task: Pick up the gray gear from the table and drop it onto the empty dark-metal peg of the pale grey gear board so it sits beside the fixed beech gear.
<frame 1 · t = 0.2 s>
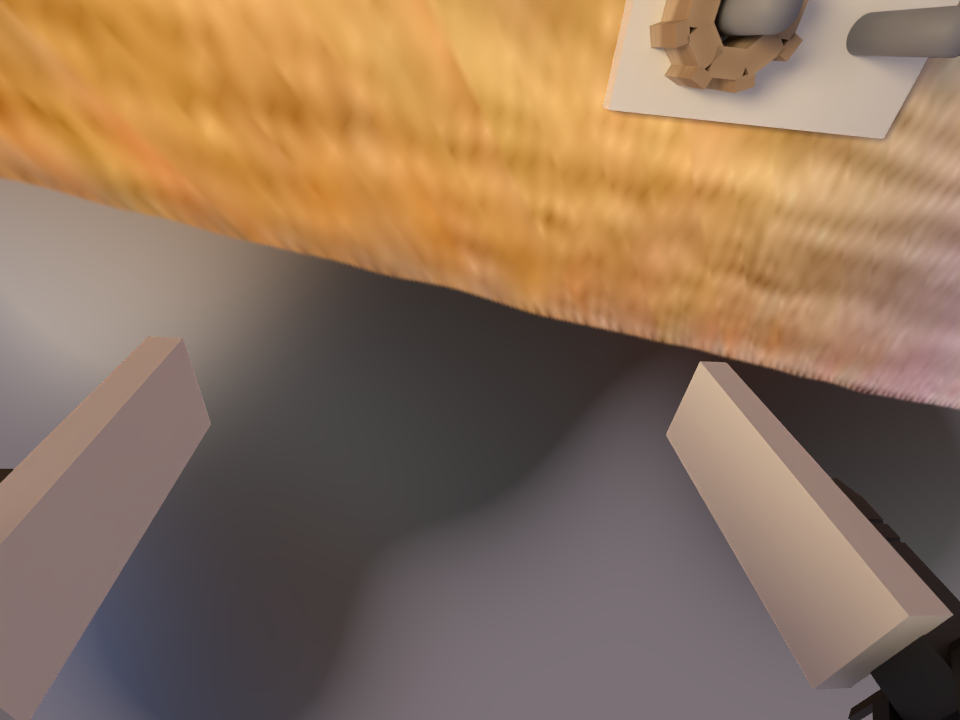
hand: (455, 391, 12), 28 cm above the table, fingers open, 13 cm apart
gear board: (777, 25, 31), on the table
beech gear: (713, 13, 29), resting on gear board
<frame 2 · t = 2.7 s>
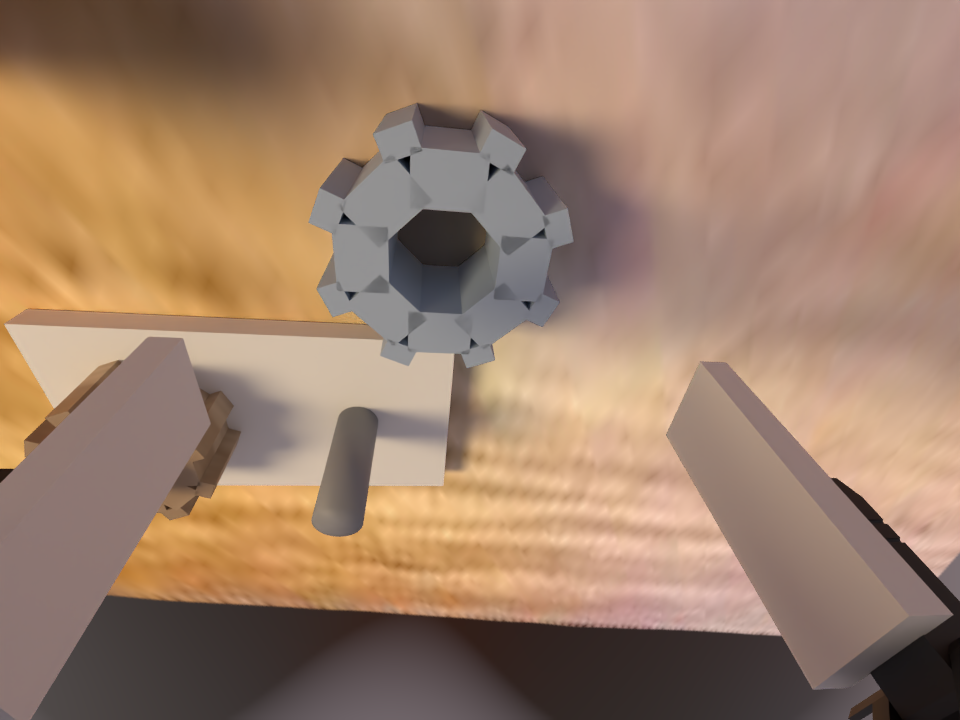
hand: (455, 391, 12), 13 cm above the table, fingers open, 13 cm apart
gray gear: (442, 224, 22), on the table
gear board: (270, 402, 28), on the table
beech gear: (163, 417, 26), resting on gear board
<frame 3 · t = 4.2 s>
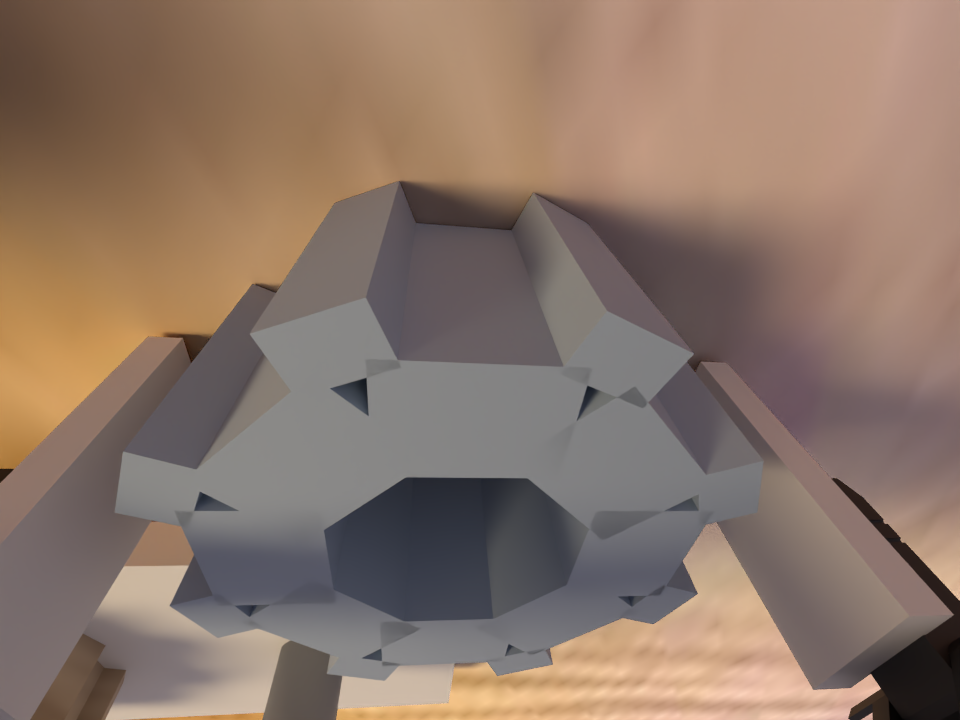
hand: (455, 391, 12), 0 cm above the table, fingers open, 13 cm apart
gray gear: (451, 384, 12), on the table
gear board: (178, 614, 18), on the table
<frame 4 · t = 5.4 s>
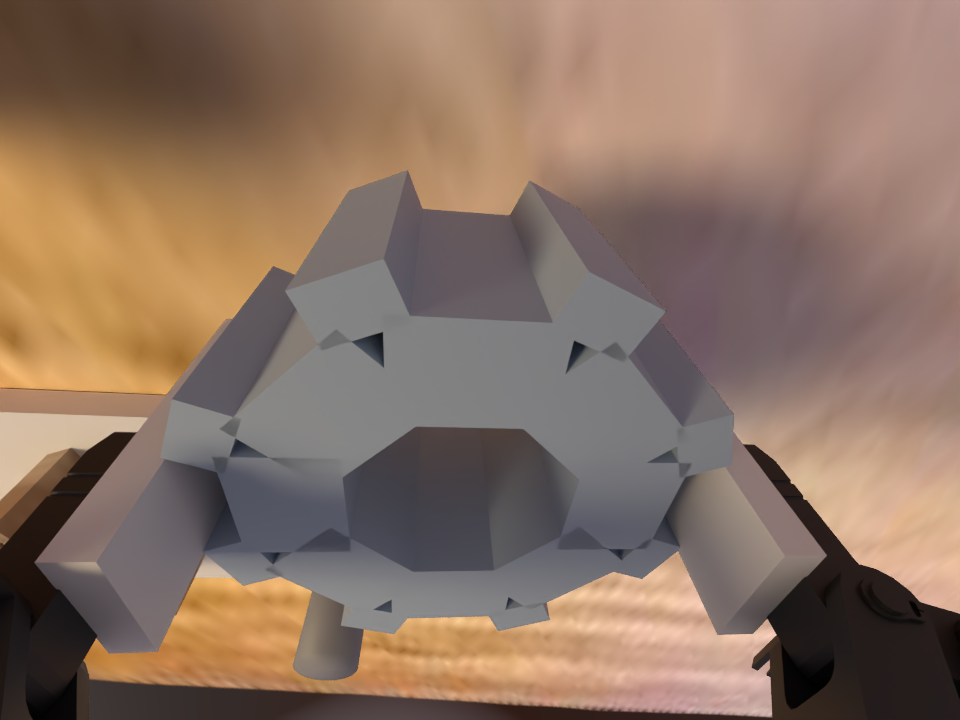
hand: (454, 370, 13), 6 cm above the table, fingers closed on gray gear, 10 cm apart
gray gear: (454, 362, 13), point 6 cm above the table, touching gripper
gear board: (256, 486, 24), on the table
beech gear: (127, 508, 22), resting on gear board
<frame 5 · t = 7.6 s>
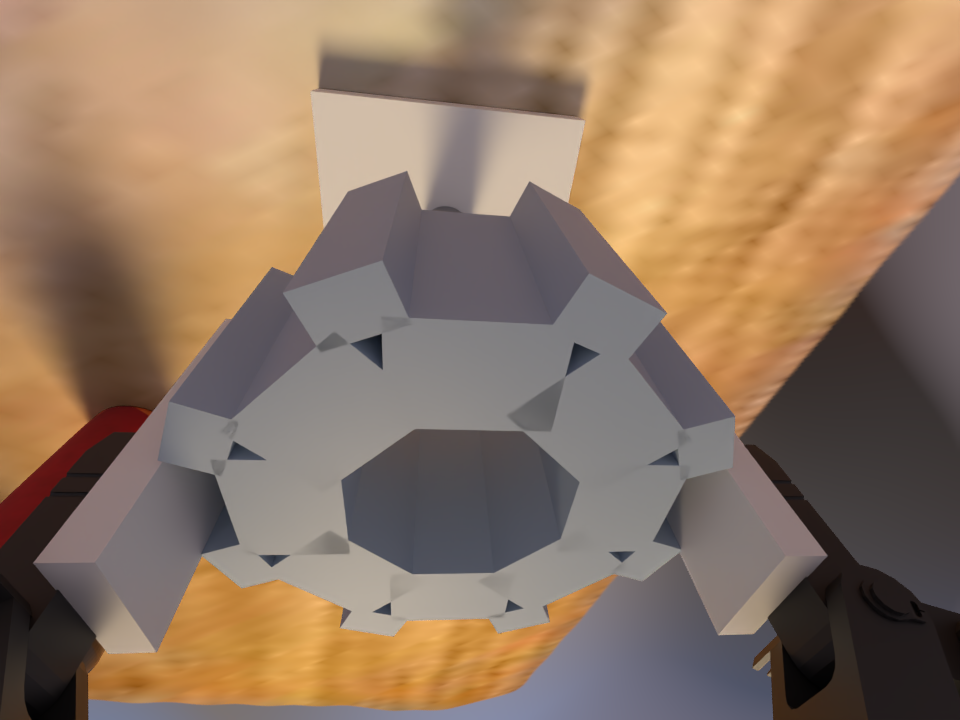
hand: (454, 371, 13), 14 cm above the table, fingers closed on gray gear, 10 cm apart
gray gear: (454, 363, 13), point 13 cm above the table, touching gripper
paper cup: (142, 434, 31), on the table
gear board: (440, 311, 27), on the table
when the fingers open (4 cm above the table, at t = 9.7 s): gray gear drops 3 cm, resting on gear board.
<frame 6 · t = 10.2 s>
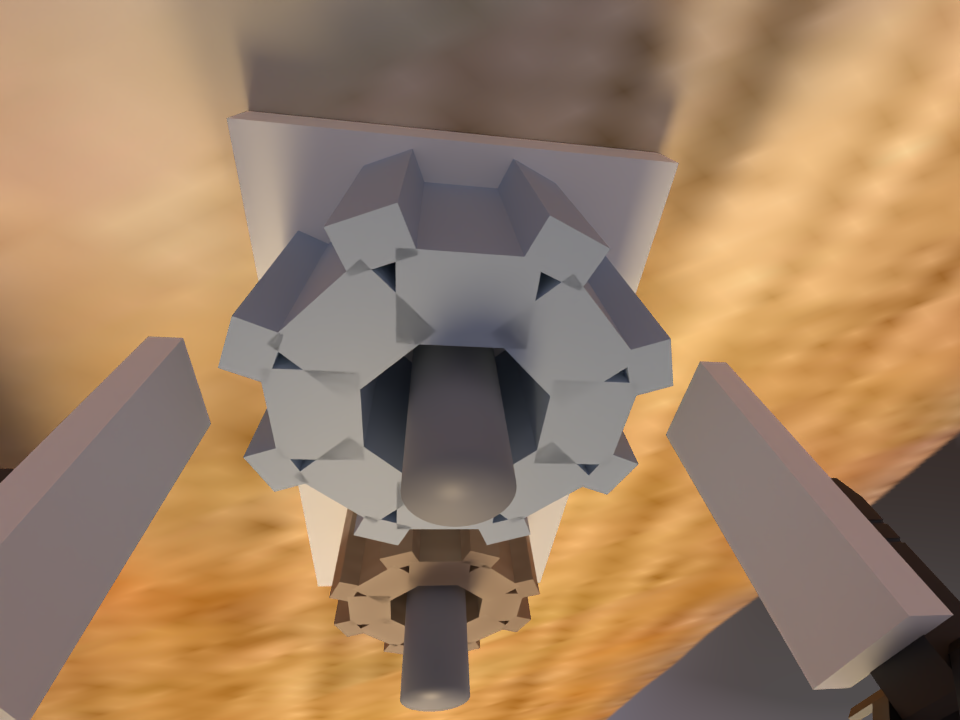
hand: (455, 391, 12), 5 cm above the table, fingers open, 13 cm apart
gray gear: (451, 319, 15), point 1 cm above the table, touching gear board
gear board: (443, 414, 19), on the table
beech gear: (436, 522, 21), resting on gear board
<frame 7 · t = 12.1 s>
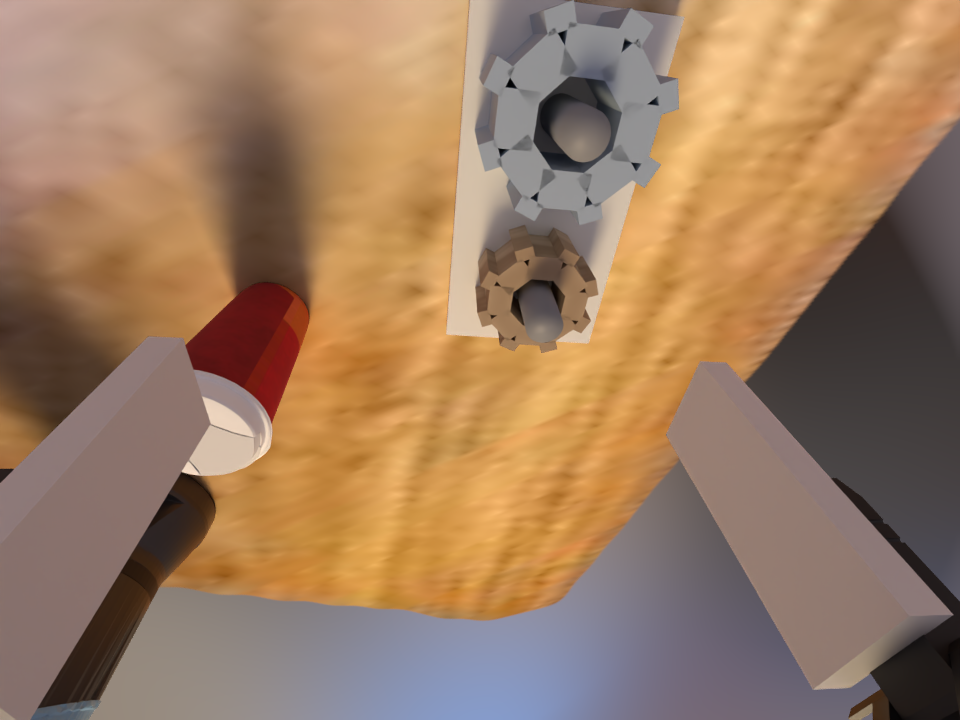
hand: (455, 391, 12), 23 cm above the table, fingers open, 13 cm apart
gray gear: (559, 114, 28), point 1 cm above the table, touching gear board
paper cup: (275, 312, 37), on the table
gear board: (539, 199, 32), on the table
beech gear: (529, 278, 34), resting on gear board
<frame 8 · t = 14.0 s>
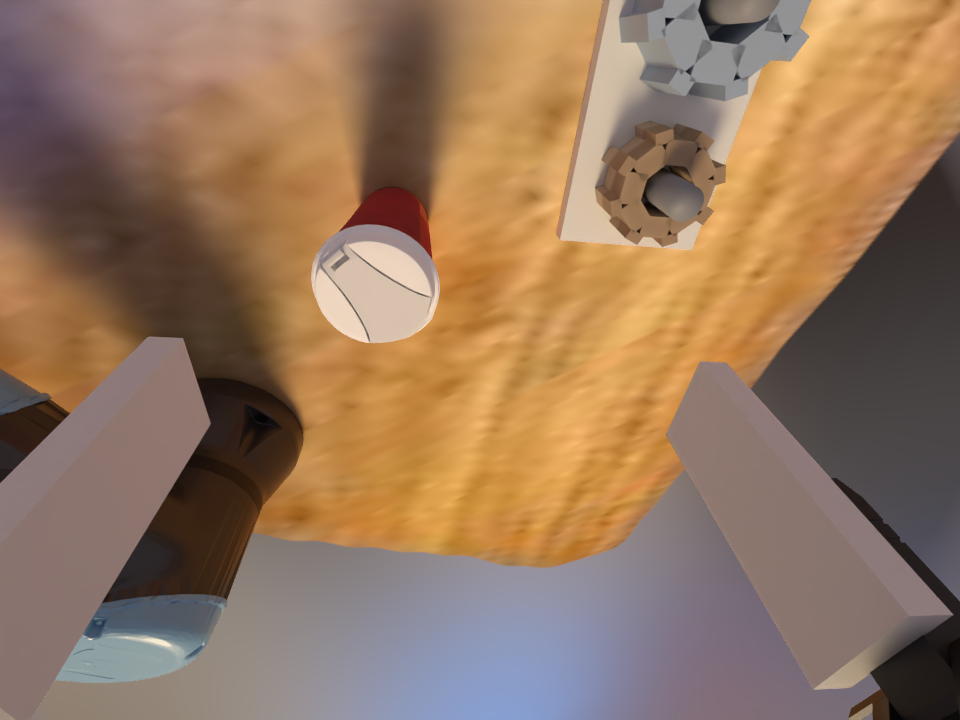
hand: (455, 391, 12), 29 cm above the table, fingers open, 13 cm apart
gray gear: (698, 2, 29), point 1 cm above the table, touching gear board
paper cup: (395, 220, 38), on the table
gear board: (662, 97, 34), on the table
beech gear: (646, 178, 36), resting on gear board
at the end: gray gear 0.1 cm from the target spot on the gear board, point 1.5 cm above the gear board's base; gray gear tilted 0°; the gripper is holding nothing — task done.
